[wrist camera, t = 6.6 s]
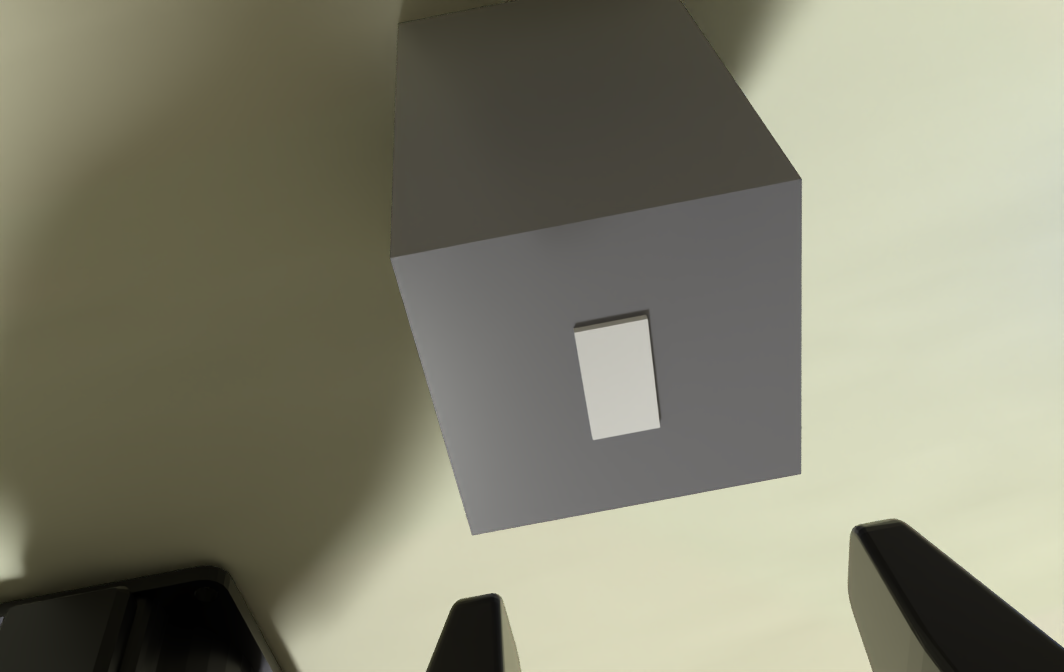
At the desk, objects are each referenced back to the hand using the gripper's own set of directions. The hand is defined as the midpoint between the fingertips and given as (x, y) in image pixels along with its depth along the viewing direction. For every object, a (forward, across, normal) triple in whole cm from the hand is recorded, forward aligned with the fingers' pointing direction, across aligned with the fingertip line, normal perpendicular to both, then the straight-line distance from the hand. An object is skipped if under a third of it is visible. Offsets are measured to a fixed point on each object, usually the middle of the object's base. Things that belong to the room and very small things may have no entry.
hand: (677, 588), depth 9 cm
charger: (+10, 0, 0) cm, 10 cm away
